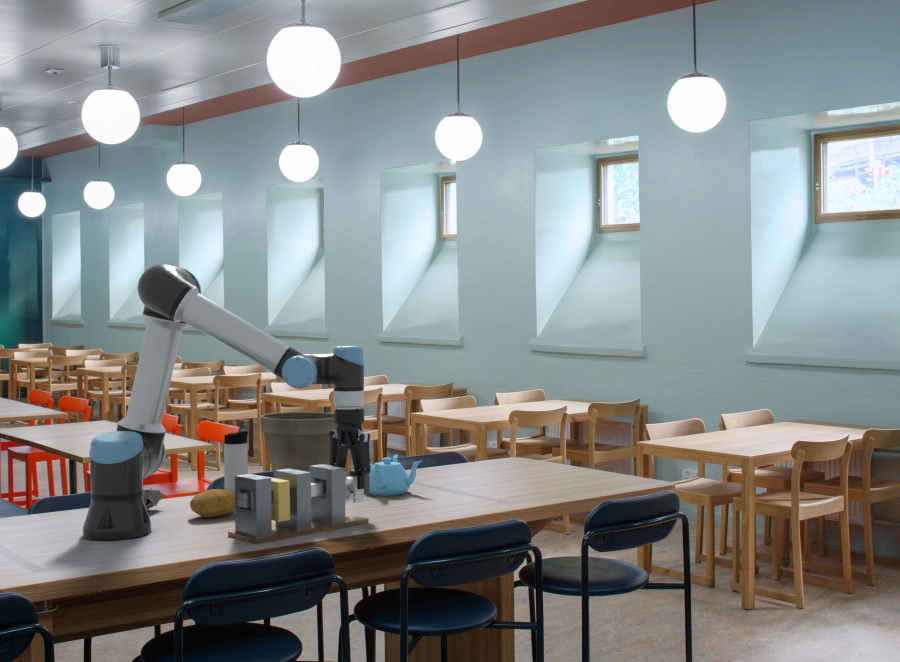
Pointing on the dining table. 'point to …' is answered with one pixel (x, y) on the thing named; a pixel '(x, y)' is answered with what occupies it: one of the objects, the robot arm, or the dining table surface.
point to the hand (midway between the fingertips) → (350, 500)
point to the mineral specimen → (151, 497)
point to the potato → (213, 502)
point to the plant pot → (297, 439)
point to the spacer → (280, 499)
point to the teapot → (390, 477)
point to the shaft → (316, 489)
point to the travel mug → (235, 457)
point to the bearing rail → (292, 505)
